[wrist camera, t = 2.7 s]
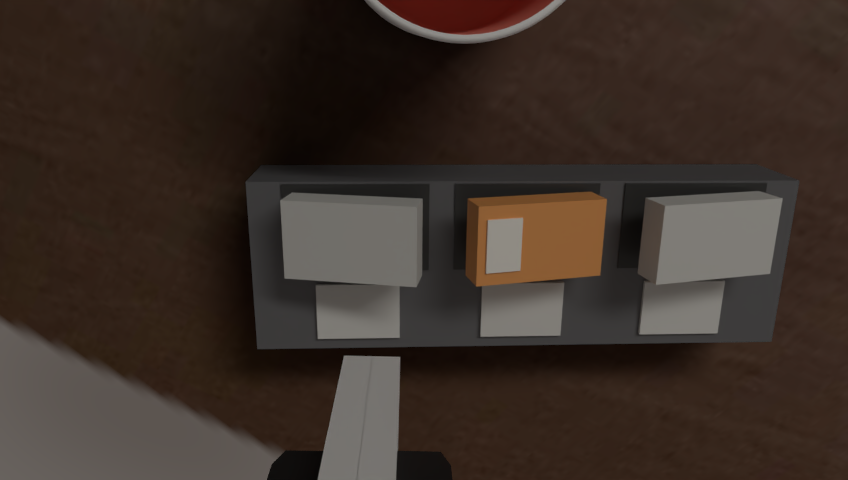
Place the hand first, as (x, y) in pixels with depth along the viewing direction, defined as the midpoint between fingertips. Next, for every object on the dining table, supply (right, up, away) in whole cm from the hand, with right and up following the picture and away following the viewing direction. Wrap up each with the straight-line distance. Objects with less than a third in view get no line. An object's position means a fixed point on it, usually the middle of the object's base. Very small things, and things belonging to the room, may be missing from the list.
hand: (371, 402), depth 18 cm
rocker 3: (+14, +5, +13) cm, 20 cm away
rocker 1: (-2, +5, +12) cm, 13 cm away
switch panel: (+6, +4, +18) cm, 20 cm away
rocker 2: (+6, +5, +13) cm, 15 cm away
